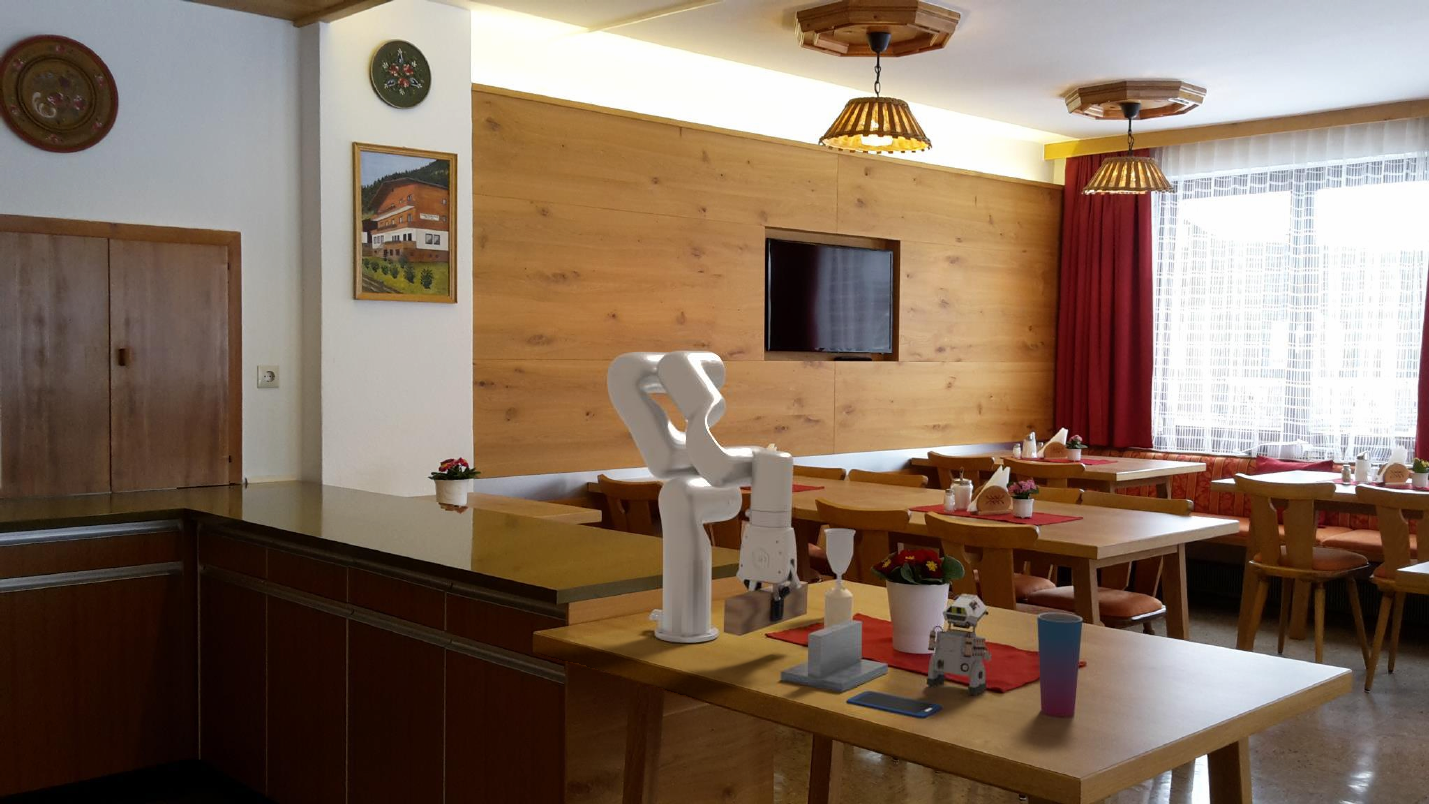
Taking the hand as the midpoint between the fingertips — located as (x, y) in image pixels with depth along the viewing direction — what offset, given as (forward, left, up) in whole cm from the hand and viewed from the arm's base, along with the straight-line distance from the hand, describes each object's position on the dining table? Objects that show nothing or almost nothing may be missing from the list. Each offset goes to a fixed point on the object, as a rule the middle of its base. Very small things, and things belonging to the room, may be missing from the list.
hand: (766, 617), depth 213 cm
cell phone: (+32, -11, -8) cm, 35 cm away
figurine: (+36, +6, -8) cm, 37 cm away
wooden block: (0, 0, -1) cm, 1 cm away
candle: (+2, +23, -8) cm, 24 cm away
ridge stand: (+16, -2, -8) cm, 18 cm away
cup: (+54, +2, -8) cm, 54 cm away
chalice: (-9, +42, -8) cm, 44 cm away
